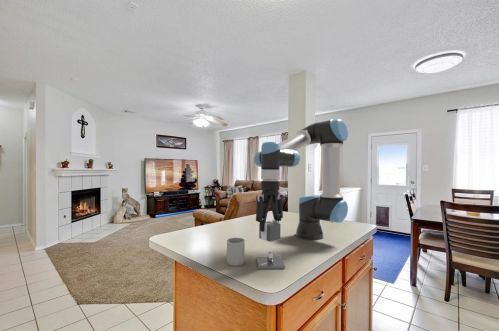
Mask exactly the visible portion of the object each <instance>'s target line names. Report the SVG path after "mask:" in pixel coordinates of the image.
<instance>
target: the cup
mask: <svg viewBox="0 0 499 331" xmlns="http://www.w3.org/2000/svg"><path fill="white" fill-rule="evenodd" d="M245 242H246V241H245V239H244V238H242V237H230V238H228V239H227V240H226V263H227V264H228V265H230V266H232V265H233V267H237V266H238V265H239V266H242V265H243V264H244V263H245V257H246V256H245V254H246V252H245V250H246V249H245V248H246V246H245V244H246V243H245Z"/></svg>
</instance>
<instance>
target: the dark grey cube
mask: <svg viewBox="0 0 499 331" xmlns="http://www.w3.org/2000/svg"><path fill="white" fill-rule="evenodd" d="M265 223H267V240H265V241H267V242H274V241H278V240H281V223H280V222H279V223H275V222H272V221H270V220H269V221H266V222H265ZM258 225H259V226H258V227H259V229H258V233H259V234H258V235H259V236H258V238H259V239H260V240H262V239H261V231H260V222H258Z"/></svg>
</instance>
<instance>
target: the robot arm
mask: <svg viewBox="0 0 499 331" xmlns="http://www.w3.org/2000/svg"><path fill="white" fill-rule="evenodd" d="M348 131H349V129H348V126H347V125H346V123H345V122H344V120H342V119H340V118H337V119H330V120H324V121H320V122H314V123H312V124H310V125H307V126H306V127H303V128H302V129H300V130H299V131H297V132H296V134H294V135H293V136H290V137H289V138H287V139H285V140H283V141H281V142H280V143H279V142H276V141H265V142H263V143H262V144H261V150H260V151H258V152H256V153H255V155H254V158H253V161H254V163H255V165H256V166H257V167H259V168H261V169H260V179H261V180H262V181H260V190H261V191H262V192H261V195H256V196H255V199H256V210H255V211H256V213H255V221H256V222H258V223H260V231H261V239H260V240H263V241H266V240H267V223H265V222H267V217H268V214H269V210H270V209H269V208H270V207H271V212H272V216H273V219H272V220H271V222H275V223H279V224H280V222H281V221H282V219H283V217H284V214H283V213H284V211H283V198H284V196H283V194H279V192H278V191H280V188H281V186H280V181H279V180H280V178H281V176H280V173H281V172H280V171H281V170H280V168H282V167H283V168H284V167H285V168H286V167H287V168H291V167H293V168H294V167H297V166H298V165H299V163H300V160H301V157H300V154H299V152H298V150H299V149H301V148H303V147H308V146H310V145H313V144H314V145H315V144H319V146H320V147H321V149H322V193H321V194H320V195H319V194H318V195H305V196H300V197H299V200H298V218H299V219H298V224H297V227H296V231H295V236H297V238H300V239H304V240H314V241H315V240H322V239H323V238H324V231H323V228H322V226H321V221H326V222H330V223H331V224H332V223H335V224H340V223H343V221H344V220H345V219H346V218H347V216H348V211H349V204H348V203H347V201H346V200H344V196H343V195H342V194H341V148H342V147H343V146H344V142H345V141H346V140H347V139H348V135H349V132H348Z"/></svg>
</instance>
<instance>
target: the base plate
mask: <svg viewBox="0 0 499 331" xmlns="http://www.w3.org/2000/svg"><path fill="white" fill-rule="evenodd" d="M256 261H257V266H258V270H286V265H285V263H284V261H283V260H282V257H281V256H280V255H279V256H277V255H276V256H274V252H273V251H270V250H269V251H267V252H266V256H256Z"/></svg>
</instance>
